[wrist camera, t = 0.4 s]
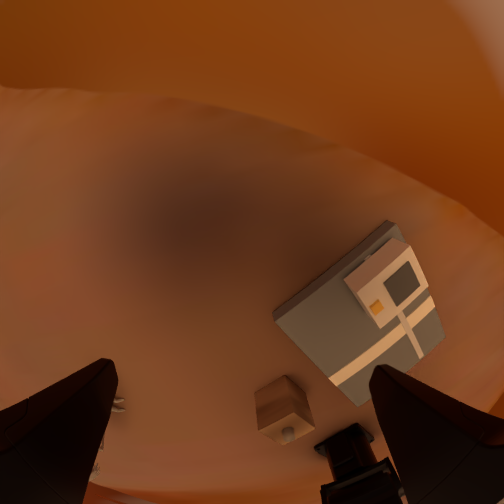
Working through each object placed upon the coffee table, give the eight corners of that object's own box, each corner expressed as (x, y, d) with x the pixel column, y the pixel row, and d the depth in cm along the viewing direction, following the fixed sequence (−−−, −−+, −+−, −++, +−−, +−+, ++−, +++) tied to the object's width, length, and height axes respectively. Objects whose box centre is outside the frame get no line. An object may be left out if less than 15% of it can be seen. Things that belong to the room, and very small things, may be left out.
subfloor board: (438, 330, 24) (446, 337, 22) (353, 398, 25) (358, 408, 24) (386, 220, 20) (397, 224, 19) (272, 312, 22) (274, 322, 20)
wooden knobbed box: (304, 392, 24) (318, 436, 19) (276, 409, 25) (283, 453, 19) (284, 374, 24) (295, 421, 18) (254, 392, 24) (258, 439, 18)
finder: (411, 274, 20) (430, 287, 17) (366, 313, 20) (381, 331, 18) (392, 237, 19) (412, 246, 16) (343, 279, 19) (358, 294, 17)
